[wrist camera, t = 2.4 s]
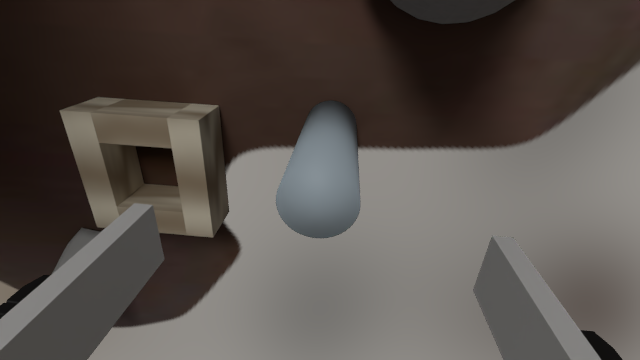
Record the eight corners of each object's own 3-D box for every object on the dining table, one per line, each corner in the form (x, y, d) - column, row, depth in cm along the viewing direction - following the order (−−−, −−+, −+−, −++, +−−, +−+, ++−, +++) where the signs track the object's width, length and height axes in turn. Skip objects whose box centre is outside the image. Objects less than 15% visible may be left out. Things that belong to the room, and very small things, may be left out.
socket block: (98, 97, 27) (59, 110, 23) (219, 105, 26) (198, 120, 23) (125, 202, 31) (97, 227, 28) (228, 211, 31) (213, 237, 27)
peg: (306, 98, 25) (275, 161, 15) (358, 102, 25) (364, 169, 14) (305, 147, 27) (276, 234, 17) (353, 150, 27) (355, 241, 16)
